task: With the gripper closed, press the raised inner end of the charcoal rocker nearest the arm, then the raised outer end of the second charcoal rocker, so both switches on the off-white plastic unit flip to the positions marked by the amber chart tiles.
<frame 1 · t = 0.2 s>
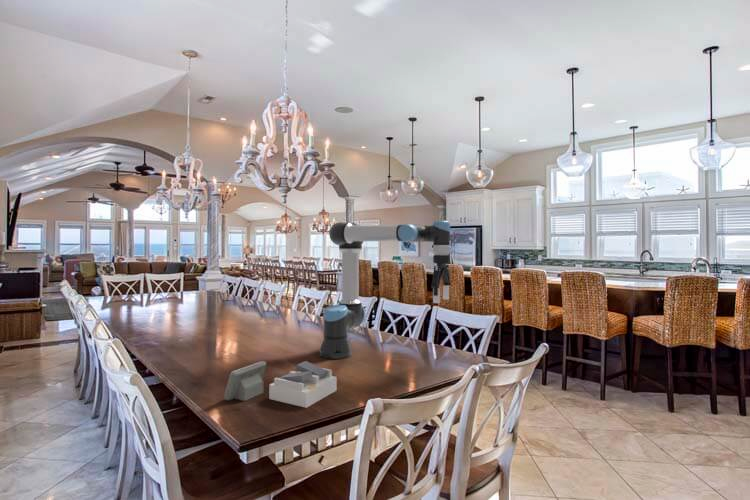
hand: (441, 301, 185), 28 cm above the table, fingers open, 13 cm apart
switch unit: (303, 394, 145), on the table
digital clock: (246, 395, 144), on the table
rocker b: (311, 370, 149), point 7 cm above the table, hinge at 13.0°
rocker a: (295, 377, 141), point 7 cm above the table, hinge at -13.0°
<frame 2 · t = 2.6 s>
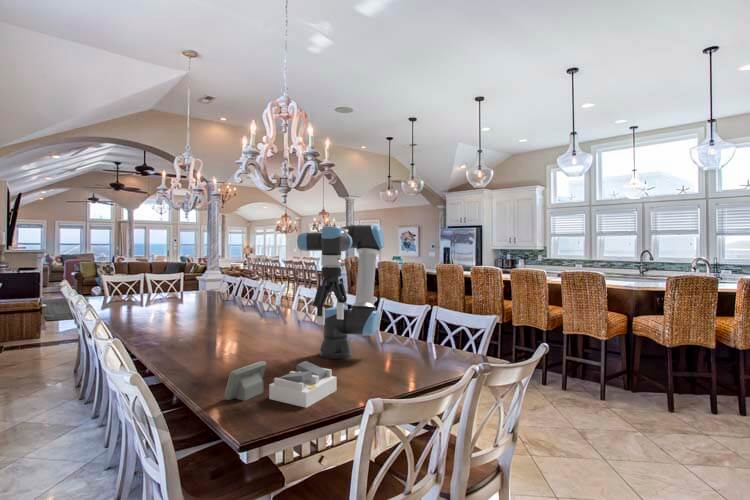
hand: (330, 321, 155), 24 cm above the table, fingers open, 13 cm apart
nothing on the table moved.
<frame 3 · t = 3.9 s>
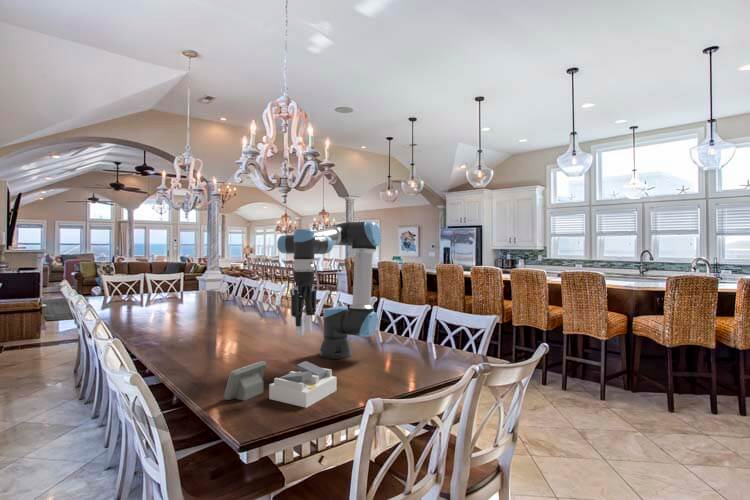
hand: (304, 333, 150), 21 cm above the table, fingers open, 4 cm apart
nothing on the table moved.
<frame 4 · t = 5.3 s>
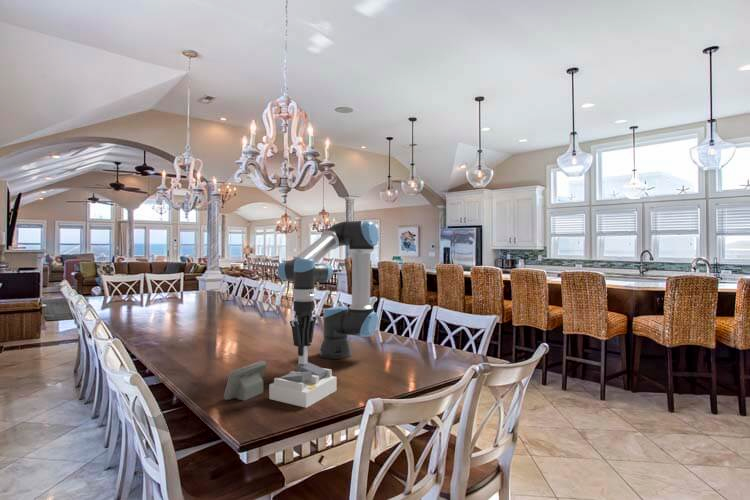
hand: (302, 363, 150), 9 cm above the table, fingers closed, pressing on rocker b
rocker b: (311, 370, 149), point 7 cm above the table, hinge at 11.4°, touching gripper
everything else where it was.
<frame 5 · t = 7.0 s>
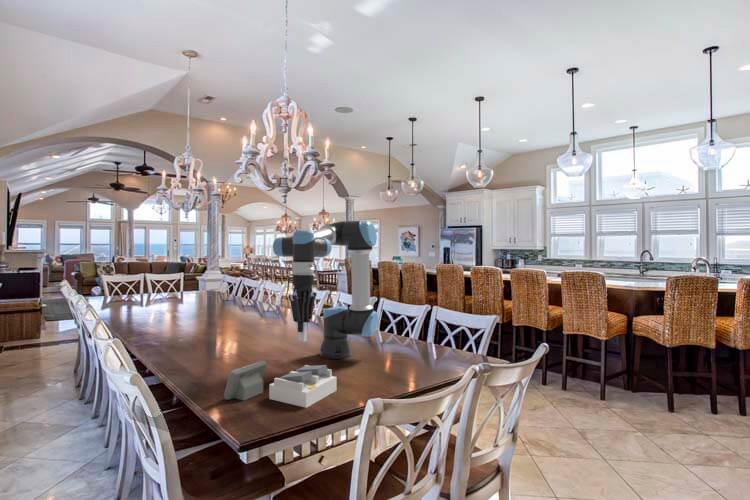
hand: (302, 340, 143), 20 cm above the table, fingers closed
rocker b: (311, 370, 149), point 7 cm above the table, hinge at -10.7°
everything else where it was.
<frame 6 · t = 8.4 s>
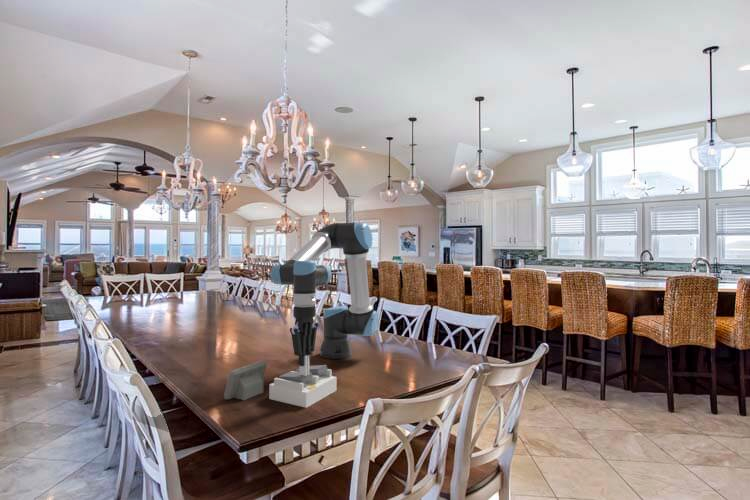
hand: (304, 374, 138), 9 cm above the table, fingers closed, pressing on rocker a
rocker b: (311, 370, 149), point 7 cm above the table, hinge at -11.3°
rocker a: (295, 377, 141), point 7 cm above the table, hinge at -7.2°, touching gripper
everything else where it was.
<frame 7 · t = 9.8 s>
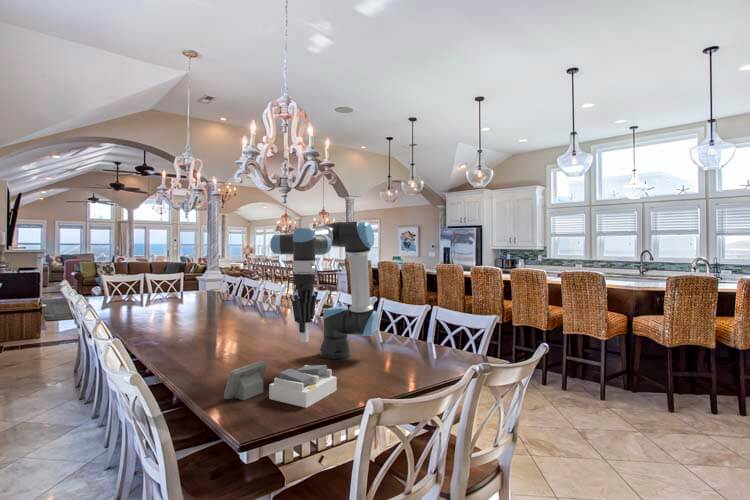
hand: (304, 341, 139), 20 cm above the table, fingers closed
rocker a: (295, 377, 141), point 7 cm above the table, hinge at 8.0°
everything else where it was.
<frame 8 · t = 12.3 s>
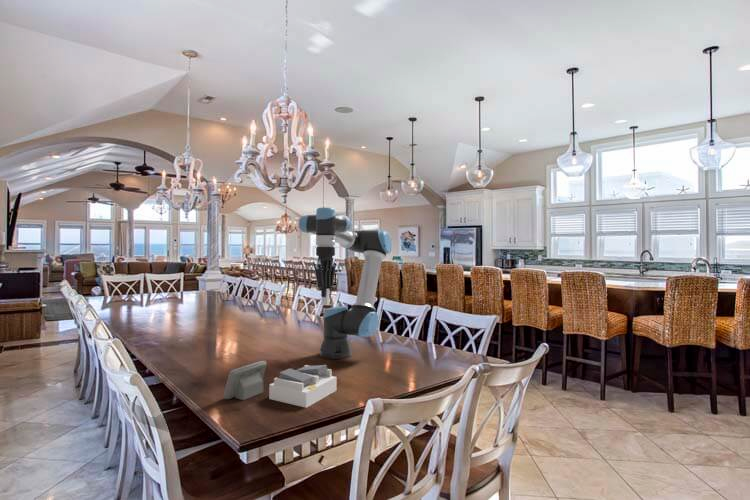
hand: (325, 304, 163), 29 cm above the table, fingers closed
rocker a: (295, 377, 141), point 7 cm above the table, hinge at 8.8°
everything else where it was.
at the end: rocker a at +9° (first picture: -13°); rocker b at -11° (first picture: +13°) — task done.
